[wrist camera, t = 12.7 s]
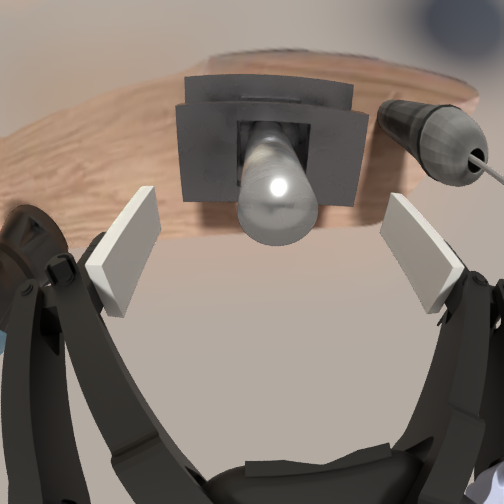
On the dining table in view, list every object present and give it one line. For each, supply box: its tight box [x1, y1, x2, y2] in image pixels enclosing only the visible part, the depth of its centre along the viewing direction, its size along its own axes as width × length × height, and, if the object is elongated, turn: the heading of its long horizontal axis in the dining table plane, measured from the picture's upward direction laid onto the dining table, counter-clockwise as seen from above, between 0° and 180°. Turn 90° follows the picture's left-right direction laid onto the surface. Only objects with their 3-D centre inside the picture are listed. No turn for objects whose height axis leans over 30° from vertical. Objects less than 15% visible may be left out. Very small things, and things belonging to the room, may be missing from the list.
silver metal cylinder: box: [237, 121, 318, 246], centre depth 21 cm, size 4×4×18 cm
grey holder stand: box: [175, 74, 369, 207], centre depth 25 cm, size 18×14×8 cm
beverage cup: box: [377, 100, 504, 187], centre depth 18 cm, size 7×7×20 cm
